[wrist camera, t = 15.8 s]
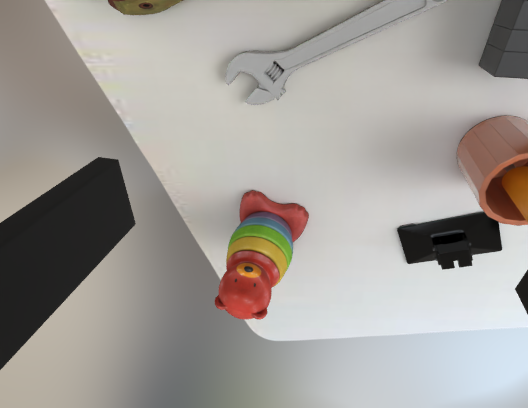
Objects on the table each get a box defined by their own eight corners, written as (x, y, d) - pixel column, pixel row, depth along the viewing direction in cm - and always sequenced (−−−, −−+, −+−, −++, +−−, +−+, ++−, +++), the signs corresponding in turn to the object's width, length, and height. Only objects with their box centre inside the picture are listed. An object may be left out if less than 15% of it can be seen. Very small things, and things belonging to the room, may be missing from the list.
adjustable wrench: (450, -36, 31) (455, -37, 29) (457, 35, 34) (462, 37, 32) (224, 60, 40) (219, 63, 39) (244, 109, 43) (240, 113, 42)
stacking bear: (312, 208, 49) (292, 300, 35) (294, 253, 55) (271, 348, 41) (245, 186, 50) (199, 267, 36) (234, 233, 56) (191, 319, 42)
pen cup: (470, 112, 37) (499, 146, 29) (552, 119, 36) (605, 156, 28) (447, 175, 42) (466, 218, 34) (518, 183, 40) (555, 230, 33)
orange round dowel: (488, 138, 38) (554, 220, 25) (517, 141, 37) (600, 226, 24) (478, 162, 39) (535, 249, 27) (505, 165, 39) (578, 256, 26)
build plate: (407, 262, 51) (410, 284, 47) (396, 225, 48) (398, 246, 44) (501, 249, 46) (513, 272, 42) (495, 207, 43) (508, 229, 39)
